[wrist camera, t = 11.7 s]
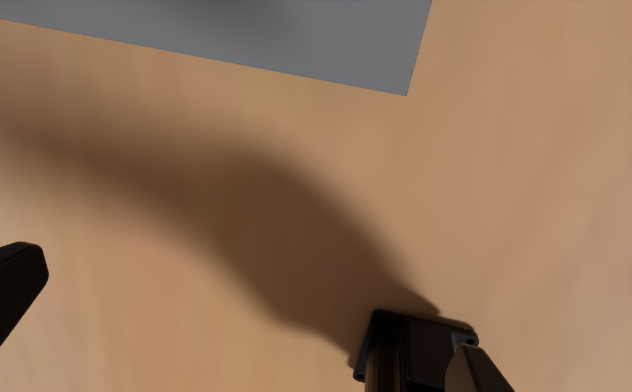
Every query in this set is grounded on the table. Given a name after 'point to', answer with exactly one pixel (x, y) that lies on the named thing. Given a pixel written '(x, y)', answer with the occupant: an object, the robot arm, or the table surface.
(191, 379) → the table surface
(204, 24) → the hole board
